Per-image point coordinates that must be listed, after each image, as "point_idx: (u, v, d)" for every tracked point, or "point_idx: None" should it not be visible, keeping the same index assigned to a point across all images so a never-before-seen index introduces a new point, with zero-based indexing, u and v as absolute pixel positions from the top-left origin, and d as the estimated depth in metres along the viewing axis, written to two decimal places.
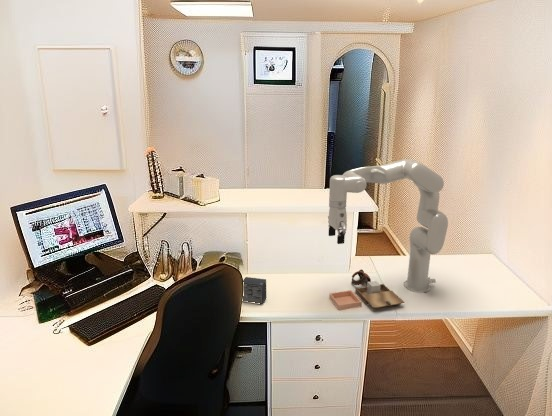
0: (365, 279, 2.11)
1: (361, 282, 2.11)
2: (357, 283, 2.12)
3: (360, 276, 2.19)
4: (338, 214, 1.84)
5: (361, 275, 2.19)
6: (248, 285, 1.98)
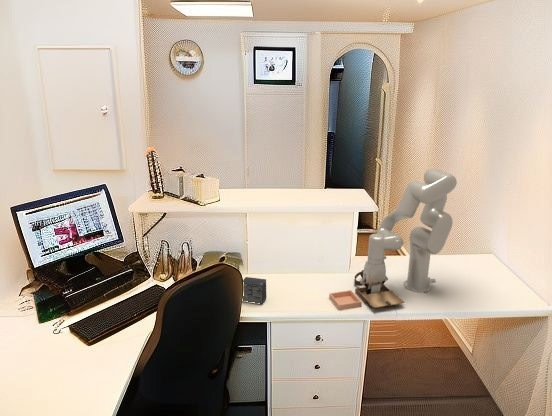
0: None
1: None
2: (360, 284, 2.11)
3: (362, 277, 2.18)
4: None
5: None
6: (248, 285, 1.98)
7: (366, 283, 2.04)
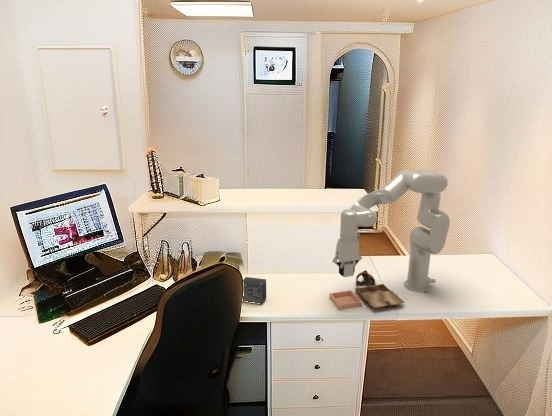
0: (370, 280, 2.10)
1: (366, 283, 2.10)
2: (362, 284, 2.11)
3: (364, 277, 2.18)
4: (358, 244, 1.90)
5: (365, 276, 2.18)
6: (248, 285, 1.98)
7: (339, 262, 1.93)
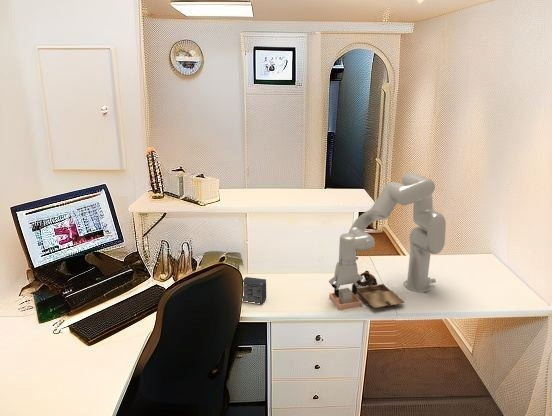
0: (371, 280, 2.10)
1: (368, 283, 2.09)
2: (363, 284, 2.10)
3: (366, 277, 2.18)
4: None
5: (367, 276, 2.17)
6: (248, 285, 1.98)
7: (335, 283, 1.96)
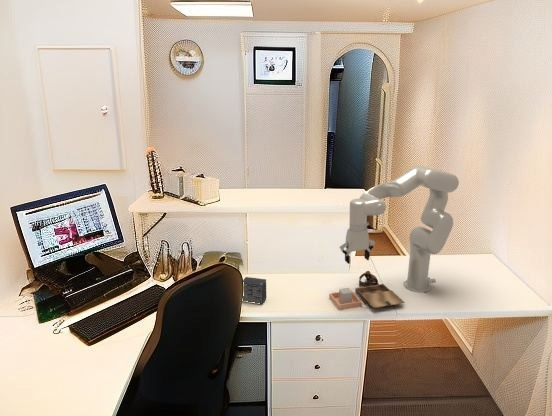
0: (373, 280, 2.10)
1: (369, 284, 2.09)
2: (365, 285, 2.10)
3: (367, 277, 2.17)
4: None
5: (368, 276, 2.17)
6: (248, 285, 1.98)
7: (346, 250, 1.94)
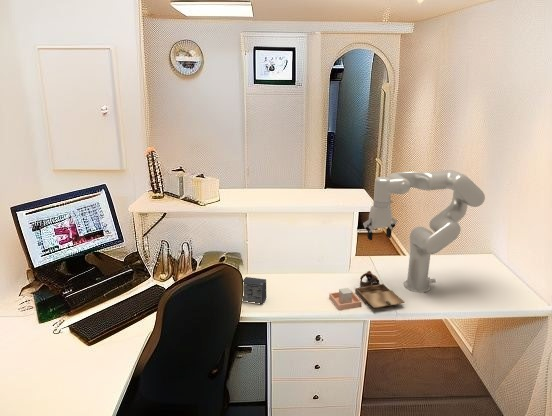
0: (374, 281, 2.10)
1: (370, 284, 2.09)
2: (366, 285, 2.10)
3: (368, 278, 2.17)
4: None
5: (369, 277, 2.17)
6: (248, 285, 1.98)
7: (369, 227, 1.99)
